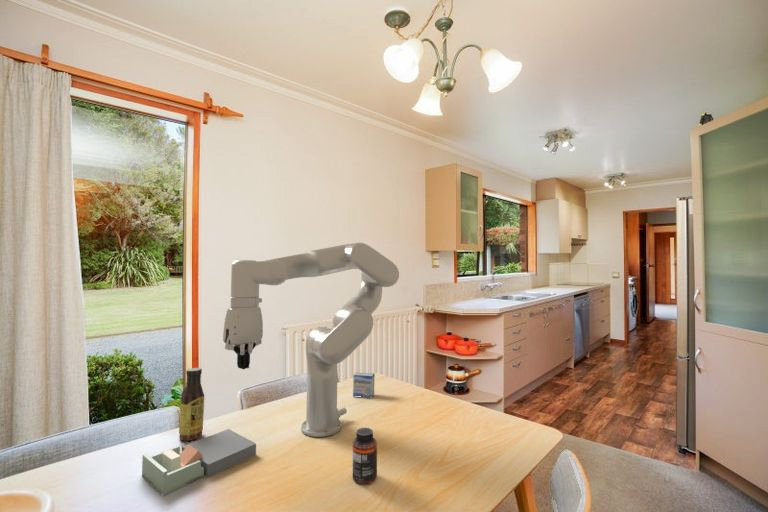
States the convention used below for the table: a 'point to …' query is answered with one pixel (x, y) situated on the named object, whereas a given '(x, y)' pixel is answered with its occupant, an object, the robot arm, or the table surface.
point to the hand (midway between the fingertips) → (243, 367)
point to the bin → (171, 480)
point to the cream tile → (170, 460)
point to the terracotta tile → (189, 456)
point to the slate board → (223, 451)
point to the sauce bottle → (192, 407)
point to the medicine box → (363, 384)
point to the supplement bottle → (364, 457)
